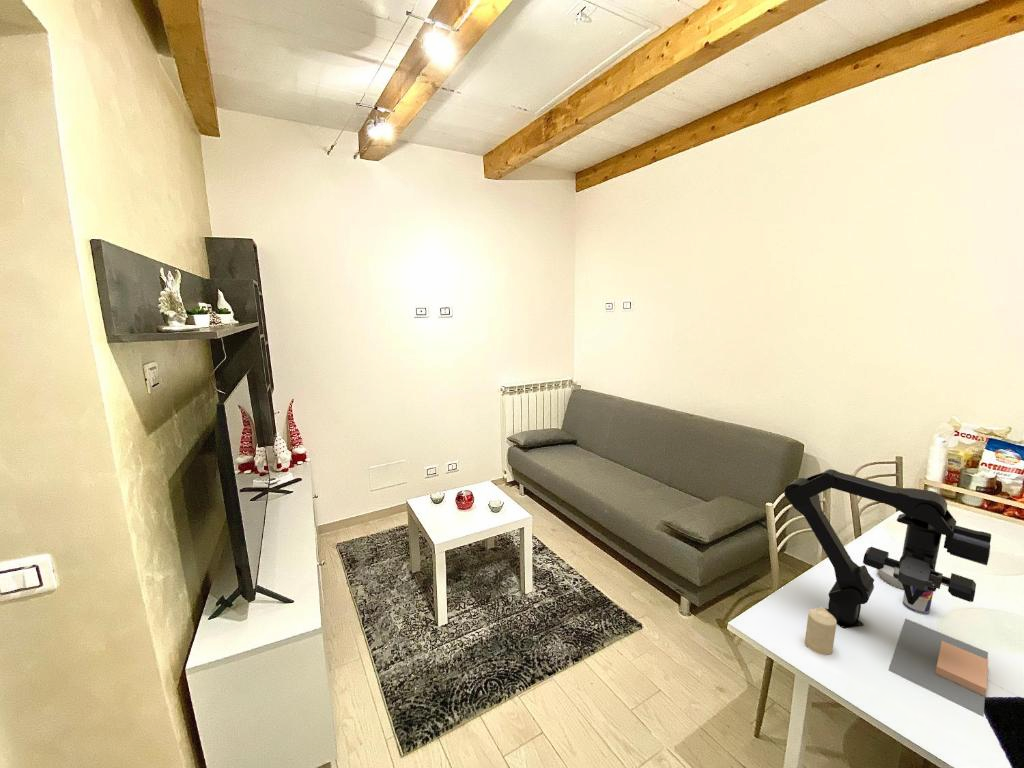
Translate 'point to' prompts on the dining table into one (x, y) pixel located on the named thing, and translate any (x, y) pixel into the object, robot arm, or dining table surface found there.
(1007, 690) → the dining table surface
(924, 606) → the energy drink
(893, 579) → the small pan
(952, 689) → the mat
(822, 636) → the candle
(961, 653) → the tile
